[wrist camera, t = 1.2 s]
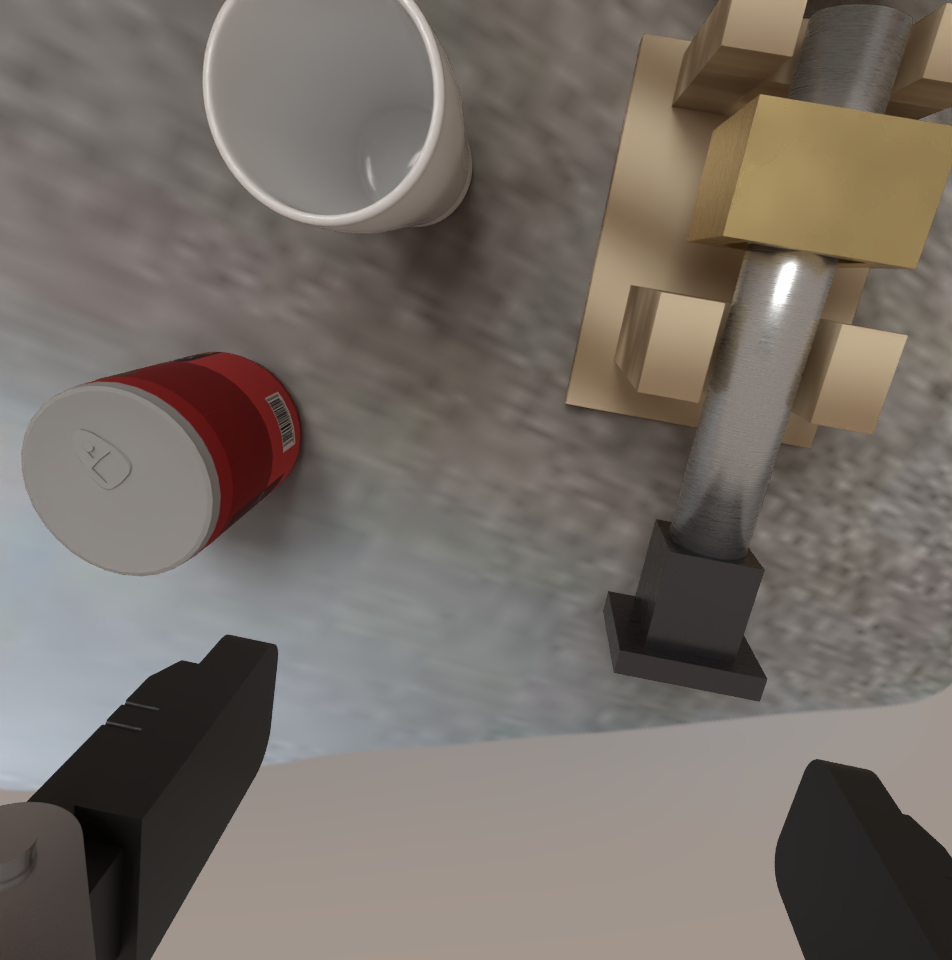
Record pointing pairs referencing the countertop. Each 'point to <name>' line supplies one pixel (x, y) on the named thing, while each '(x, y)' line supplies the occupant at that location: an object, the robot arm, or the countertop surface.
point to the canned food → (158, 459)
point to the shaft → (747, 410)
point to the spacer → (822, 182)
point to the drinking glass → (338, 112)
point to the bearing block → (714, 270)
